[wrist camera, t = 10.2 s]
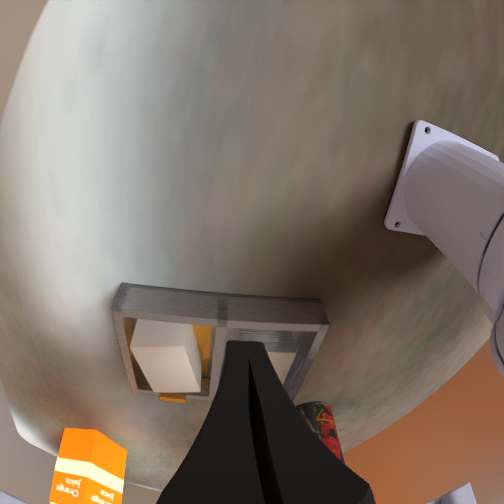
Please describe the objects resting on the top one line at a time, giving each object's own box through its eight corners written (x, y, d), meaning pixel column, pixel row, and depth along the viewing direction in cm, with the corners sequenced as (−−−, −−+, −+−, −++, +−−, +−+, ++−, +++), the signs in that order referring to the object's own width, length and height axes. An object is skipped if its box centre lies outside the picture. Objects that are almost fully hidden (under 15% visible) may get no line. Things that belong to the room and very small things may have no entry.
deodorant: (277, 412, 33) (292, 525, 20) (323, 396, 32) (350, 513, 19) (294, 427, 36) (310, 525, 23) (335, 413, 35) (360, 513, 22)
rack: (320, 299, 23) (331, 330, 20) (288, 379, 29) (293, 407, 26) (121, 282, 21) (109, 313, 18) (136, 368, 27) (130, 396, 24)
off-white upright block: (188, 310, 22) (184, 346, 19) (201, 359, 26) (200, 391, 23) (139, 313, 22) (129, 347, 19) (159, 360, 25) (154, 392, 22)
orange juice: (96, 429, 35) (80, 542, 19) (128, 451, 40) (119, 551, 23) (63, 427, 36) (44, 528, 19) (95, 449, 41) (83, 540, 24)
